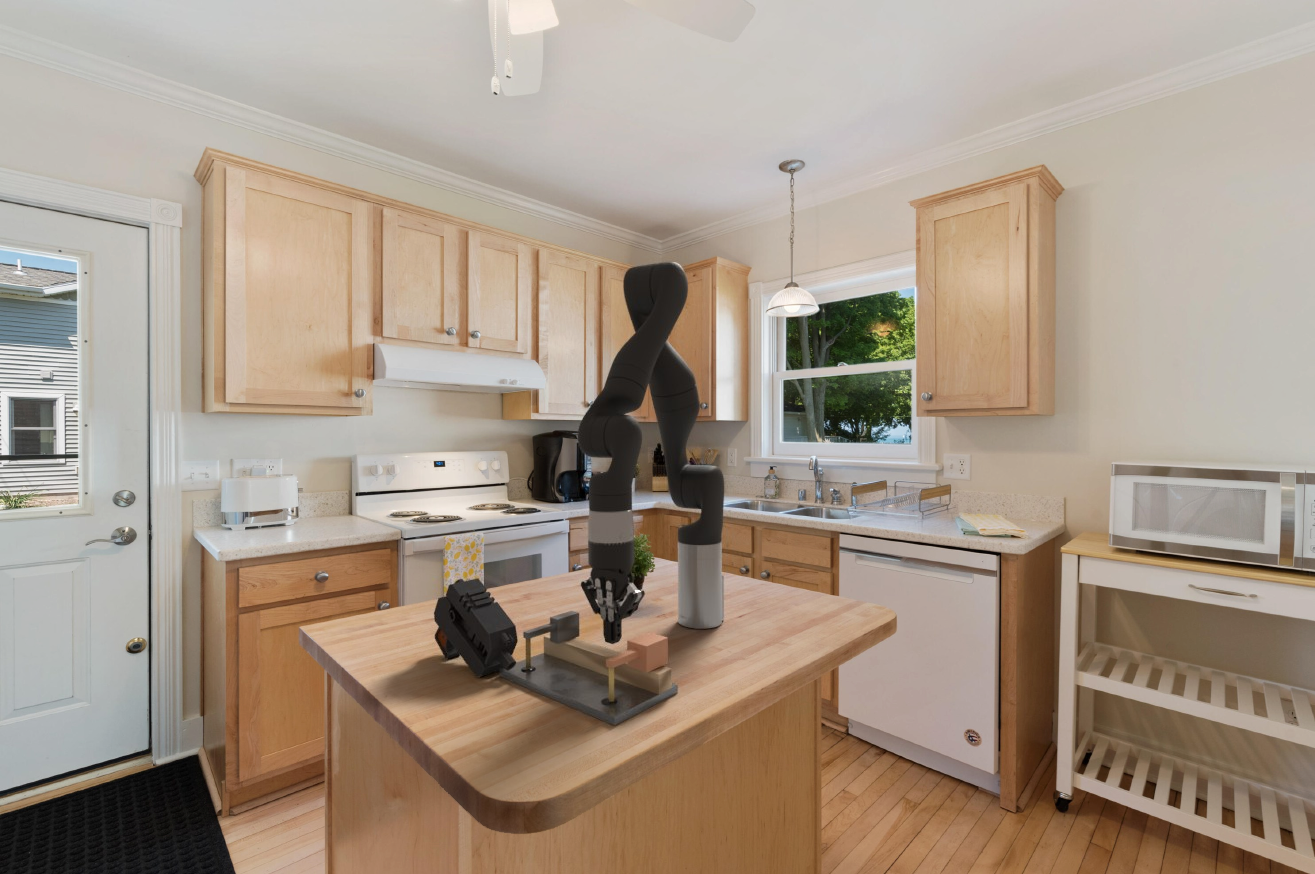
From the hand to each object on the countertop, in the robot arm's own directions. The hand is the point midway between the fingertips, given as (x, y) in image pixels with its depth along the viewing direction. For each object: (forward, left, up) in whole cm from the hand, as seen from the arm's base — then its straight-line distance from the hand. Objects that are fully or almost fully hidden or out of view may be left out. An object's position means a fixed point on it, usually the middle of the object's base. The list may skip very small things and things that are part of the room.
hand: (612, 641), depth 102 cm
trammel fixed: (+3, -2, -5) cm, 6 cm away
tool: (+11, -23, -6) cm, 26 cm away
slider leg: (+3, +8, -5) cm, 10 cm away
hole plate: (+4, -2, -6) cm, 8 cm away
